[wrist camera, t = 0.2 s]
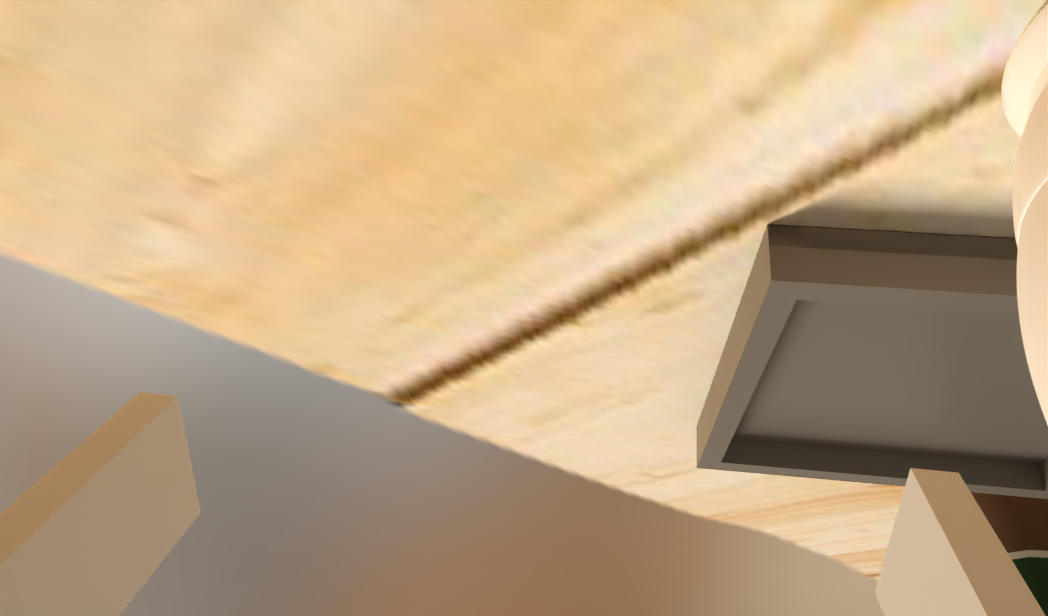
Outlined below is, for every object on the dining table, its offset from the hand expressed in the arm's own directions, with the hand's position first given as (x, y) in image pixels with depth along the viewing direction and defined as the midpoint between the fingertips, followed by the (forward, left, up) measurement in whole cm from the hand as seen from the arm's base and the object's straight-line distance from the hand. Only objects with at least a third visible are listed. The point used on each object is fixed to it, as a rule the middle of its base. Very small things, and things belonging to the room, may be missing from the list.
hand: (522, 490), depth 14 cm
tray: (+20, +17, -15) cm, 31 cm away
